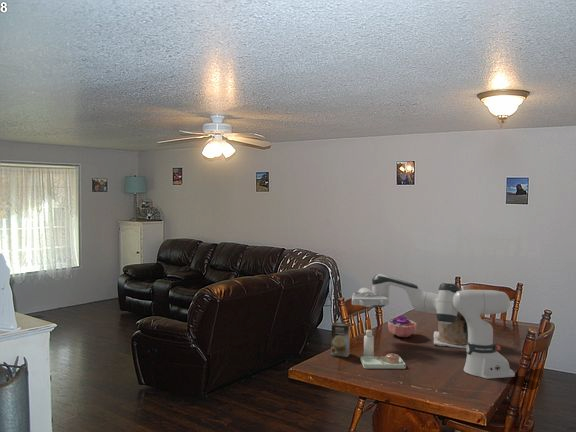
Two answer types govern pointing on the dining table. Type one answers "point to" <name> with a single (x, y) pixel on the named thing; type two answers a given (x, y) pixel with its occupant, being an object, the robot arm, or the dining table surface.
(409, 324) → the cell model
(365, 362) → the tray
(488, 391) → the dining table surface
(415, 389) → the dining table surface
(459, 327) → the cookie jar
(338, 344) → the coffee box
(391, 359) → the sugar pot
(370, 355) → the bottle
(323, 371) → the dining table surface
